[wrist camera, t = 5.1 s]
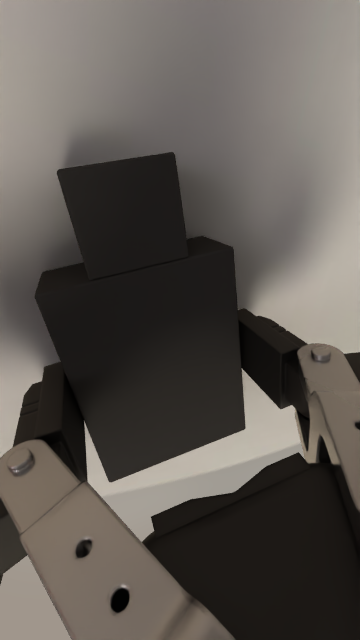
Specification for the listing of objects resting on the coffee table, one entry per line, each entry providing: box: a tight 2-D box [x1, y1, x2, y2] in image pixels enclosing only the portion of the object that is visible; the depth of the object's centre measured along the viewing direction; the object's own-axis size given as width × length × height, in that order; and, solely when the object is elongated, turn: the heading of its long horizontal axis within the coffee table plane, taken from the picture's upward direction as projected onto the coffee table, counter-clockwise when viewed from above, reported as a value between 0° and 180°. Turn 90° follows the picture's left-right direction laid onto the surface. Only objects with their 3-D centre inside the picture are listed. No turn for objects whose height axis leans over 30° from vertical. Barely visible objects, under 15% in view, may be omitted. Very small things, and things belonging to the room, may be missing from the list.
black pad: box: [35, 152, 245, 482], centre depth 11 cm, size 6×11×2 cm, turn 9°
